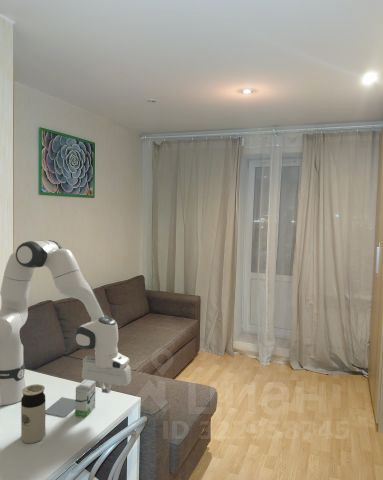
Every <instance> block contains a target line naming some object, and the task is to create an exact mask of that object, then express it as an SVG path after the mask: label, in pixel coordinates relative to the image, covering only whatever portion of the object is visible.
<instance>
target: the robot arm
mask: <svg viewBox="0 0 383 480" xmlns="http://www.w3.org/2000/svg"><path fill="white" fill-rule="evenodd" d="M44 267H46V268H47V269H48V270H49V271H50V274H51V276H52V280H53V283H54V285H55V288H56V289H57V291H58V292H59V294H61V295H62V296H65V297H67V298H71V299H77V300H79V301H81V303H82V304H83V305H84V307H85V309H86V312H87V313H88V315H89V317H90V319H91V321H89V322H85V323H84V324H81V325H80V326H78V327H76V328H75V330H74V333H73V340H74V343H75V345H76V346H77V347H78V348H79V349H82V350H92V349H93V350H94V351H95V352H94V353H95V354H94V356H90V355H86V356H85V357H83V358H82V370H81V377H82V380H91V381H96V382H97V383H98V385H99V387H100V388H101V393H104V394H110V392H111V388H112V386H113V385H117V386H120V387H121V386H122V387H127V386H128V385H130V383H131V382H132V369H131V366H130V365H129V364H130V358H129V357H127V356H126V355H123V354H122V353H120V352H119V348H118V342H119V328H118V327H119V326H118V323H117V321H116V320H115V319H114V318H112V317H110V316H108V315H107V314H106V313H105V311H104V308H103V306H102V304H101V302H100V299H98V296H97V294H96V293H95V290H94V289H93V287H92V286H91V285H90V284H89V283H88V282H87V281H86V279H85V277H84V275H83V273H82V271H81V268H80V266H79V263H78V261H77V259H76V257H75V255H74V254H73V253H72V251H71V250H70V249H67V248H63V246H62V245H61V244H60V243H59V242H57V241H54V240H50V239H49V240H45V239H40V240H33V241H32V240H29V241H25V242H22V243H20V244H19V245H18V246H17V248H16V251H14V252H12V253H11V254H10V256H9V258H8V260H7V262H6V265H5V269H4V272H3V277H2V281H1V286H0V287H1V288H0V298H1V299H0V300H1V304H0V305H1V306H0V407H1V406H7V405H8V406H9V405H12V404H17V403H18V402H21V399H22V397H23V393H22V390H23V389H24V388H25V387H27V385H26V381H25V366H26V365H25V362H24V345H23V344H22V342H21V341H22V340H21V337H20V331H21V328H23V326H24V325H25V324H26V323H27V321H28V316H29V311H28V310H29V294H30V291H31V290H30V289H31V285H32V280H33V275H34V270H35V269H36V268H44ZM105 384H107V386H106V385H105Z"/></svg>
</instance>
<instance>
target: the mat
mask: <svg viewBox="0 0 383 480" xmlns="http://www.w3.org/2000/svg"><path fill="white" fill-rule="evenodd" d="M75 401H76V399H75V398H69V397H64V396H61V397H60V398H59V399H58V400H56V402H54V403H53V404H52V405H50V406H49V407H48V408H46V409H45V415H51V416H55V417H58V418H59V417H60V418H66V417H68V416H69V414H71V412H73V411H75Z"/></svg>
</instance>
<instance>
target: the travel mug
mask: <svg viewBox="0 0 383 480" xmlns="http://www.w3.org/2000/svg"><path fill="white" fill-rule="evenodd" d="M44 391H45V386H44V385H42V384H30V385H26V387H25V388H24V389H23V390H22V393H23V397H22V399H21V401H20V403H21V404H20V405H21V406H20V409H21V410H20V412H21V413H20V415H21V417H20V423H21V424H20V429H21V430H20V431H21V436H20V437H21V441H22V442H23V443H26V444H33V443H37V442H39V441H41V440H43V439H44V438H45V436H46V414H45V410H46V394H45V392H44Z"/></svg>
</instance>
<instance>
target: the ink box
mask: <svg viewBox="0 0 383 480" xmlns="http://www.w3.org/2000/svg"><path fill="white" fill-rule="evenodd" d="M96 382H97V381H91V380H85V379H83V380H82V381H81V382H80V383H79V384H78V385H77V386H76V387H75V400H76V401H75V409H74V411H75V412H74V416H75V417H77V418H84V419H86V418H87V417H88V416H89V415H90V414H91V413H92V411H94V409H95V408H96Z"/></svg>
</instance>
